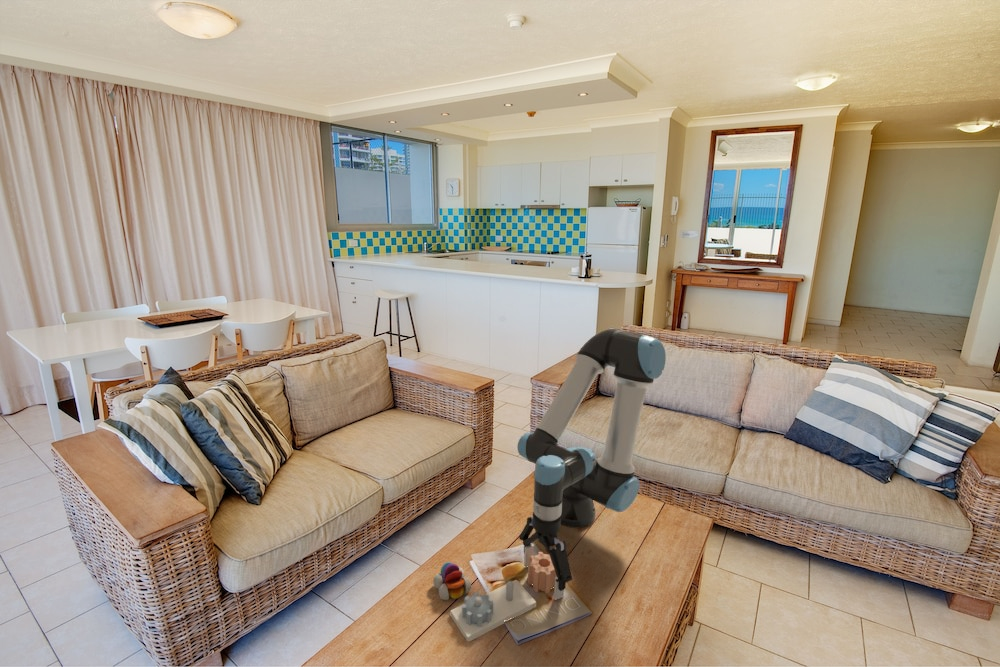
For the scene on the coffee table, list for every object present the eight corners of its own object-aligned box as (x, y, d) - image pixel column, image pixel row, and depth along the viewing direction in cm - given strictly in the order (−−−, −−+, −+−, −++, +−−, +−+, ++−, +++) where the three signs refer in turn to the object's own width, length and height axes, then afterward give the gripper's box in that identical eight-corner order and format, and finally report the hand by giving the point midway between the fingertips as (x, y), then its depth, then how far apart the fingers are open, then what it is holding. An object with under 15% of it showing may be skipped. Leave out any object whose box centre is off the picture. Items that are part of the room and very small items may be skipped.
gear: (522, 577, 132) (522, 558, 131) (545, 566, 137) (546, 548, 135) (540, 597, 126) (541, 578, 124) (564, 585, 130) (566, 566, 128)
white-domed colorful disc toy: (443, 608, 122) (443, 584, 120) (430, 582, 130) (430, 559, 128) (473, 596, 126) (474, 573, 124) (459, 572, 134) (459, 550, 132)
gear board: (450, 615, 119) (450, 595, 118) (516, 584, 130) (516, 565, 128) (467, 642, 112) (468, 621, 111) (535, 606, 123) (536, 587, 121)
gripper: (509, 494, 134) (506, 558, 139) (566, 545, 114) (561, 618, 119) (530, 486, 138) (527, 549, 143) (590, 535, 118) (583, 606, 123)
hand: (542, 581), depth 131 cm, fingers open, 13 cm apart
